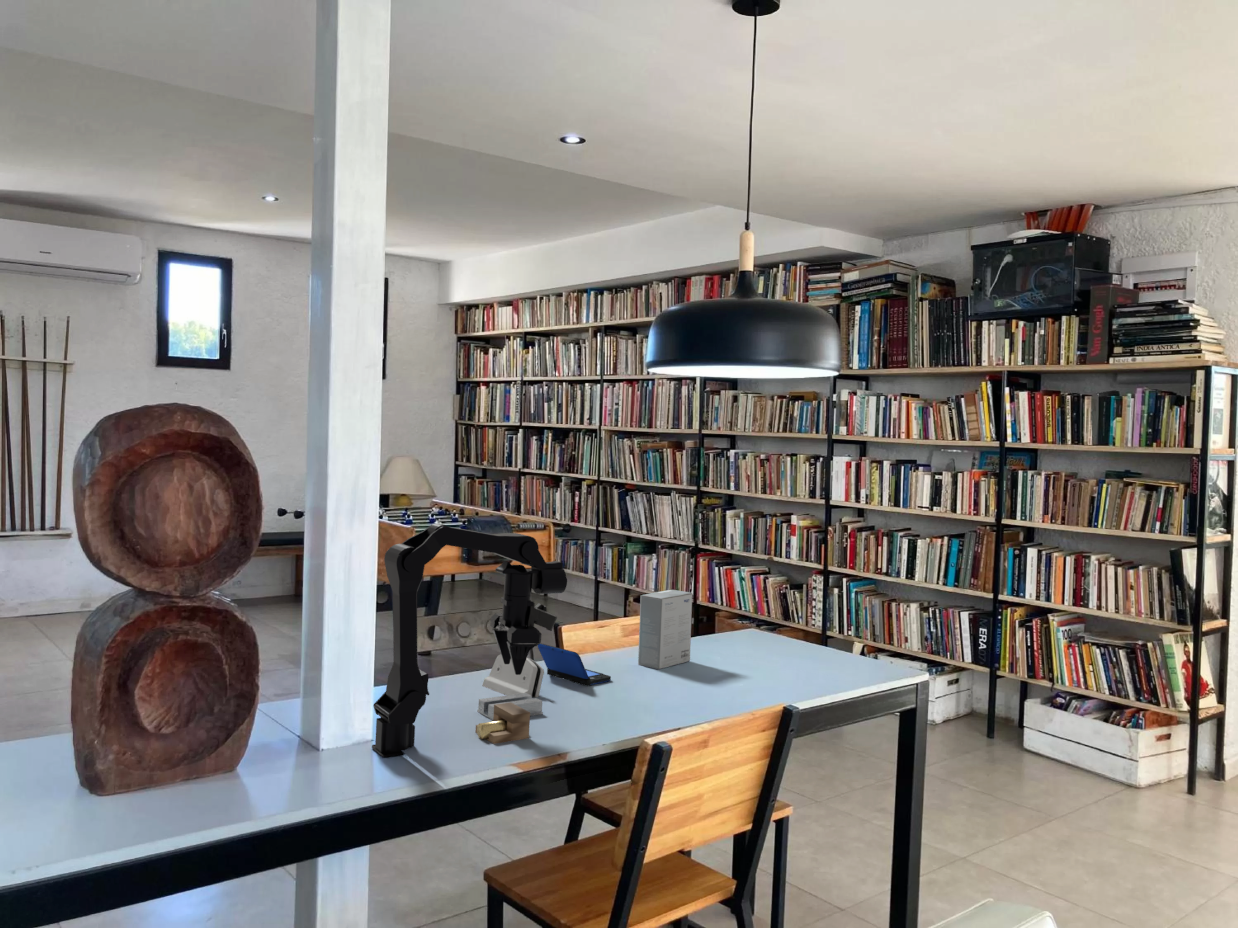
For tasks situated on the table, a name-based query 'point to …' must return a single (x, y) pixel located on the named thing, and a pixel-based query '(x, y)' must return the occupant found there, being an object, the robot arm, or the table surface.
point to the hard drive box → (665, 628)
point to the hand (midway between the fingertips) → (512, 669)
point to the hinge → (515, 678)
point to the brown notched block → (510, 723)
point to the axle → (490, 728)
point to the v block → (518, 699)
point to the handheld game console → (569, 666)
